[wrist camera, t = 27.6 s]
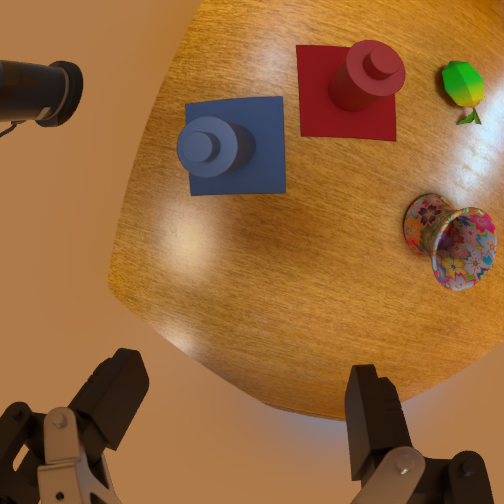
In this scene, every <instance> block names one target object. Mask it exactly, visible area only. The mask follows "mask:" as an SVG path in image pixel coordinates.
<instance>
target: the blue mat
mask: <svg viewBox="0 0 504 504" xmlns="http://www.w3.org/2000/svg"><path fill="white" fill-rule="evenodd" d="M185 109H186V125H187V124H188V123H189V122H191V121H192V120H194V119H196V118H199V117H203V116H214V117H218V118H221V119H223V120H226V121H229V122H231V123H234V124H237V125H239V126H242V127H244V128H246V129H247V130H249V131H250V132H251V134H252V135H253V137H254V139H255V144H256V148H255V153H254V155H253V157H252V158H251V160H250V161H249V162H247V163H246V164H244V165H242V166H240V167H237V168H235V169H233V170H230V171H228V172H226V173H223V174H221V175H219V176H216V177H212V178H202V177H198V176H195V175H193V174H191V173H190V172H189V179H190V191H191V196H198V195H223V194H272V193H286V190H285V147H284V119H283V97H282V96H275V97H252V98H237V99H225V100H215V101H206V102H198V103H191V104H185Z"/></svg>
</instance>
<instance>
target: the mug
mask: <svg viewBox="0 0 504 504" xmlns="http://www.w3.org/2000/svg"><path fill="white" fill-rule="evenodd" d="M404 233H405V238H406V240H407V243H408V245H409V246H410V247H411V249H412V250H414V251H415V252H416V253H418V254H421V255H425V256H429V257H430V258H431V260H432V268H433V272H434V274H435V277H436V278H437V280H438V281H439V283H440V284H441V285H443V286H444V287H445V288H447V289H450V290H457V291H458V290H464V289H467V288H469V287H471V286H473V285H475V284H476V283H477V282H479V281H480V280H481V279H482V278H483V276H484V275H485V274H486V273H487V271H488V270H489V269H490V270H492V268H493V264H492V262H493V259H494V256H495V252H496V246H497V235H496V229H495V226H494V224H493V222H492V220H491V218H490V217H489V216H488V214H486V213H485V212H484V211H482V210H480V209H478V208H474V207H469V208H463V209H460V210H454V208H453V206H452V205H451V203H450V202H449V201H448V200H447V199H446V198H444V197H443V196H440V195H437V194H429V195H425V196H422V197H421V198H419V199H418V200H416V201H415V202H414V203H413V204H412V206H411V207H410V209H409V210H408V212H407V215H406V218H405V223H404Z"/></svg>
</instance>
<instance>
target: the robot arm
mask: <svg viewBox="0 0 504 504" xmlns="http://www.w3.org/2000/svg"><path fill="white" fill-rule="evenodd" d="M68 92H69V77H68V74H67V72H66V71H65V70H64V69H63V68H60V67H51V66H46V65H39V64H32V63H25V62H15V61H6V60H0V122H7V121H11V124H13V125H12V126H11V127H10V128H9V129H7V130H5V131H3V132H1V133H0V137H2V136H3V135H5V134H7V133H9V132H11V131H12V130H13V129H14V128H15V127H16V125H17V124H21V123H23V122H25V121H26V120H49V119H52V118H53V117H55V116H56V115H57V114H58V113H59V112H60V111H61V109H62V108H63V106H64V104H65V102H66V99H67V96H68ZM148 388H149V377H148V374H147V372H146V369H145V366H144V363H143V360H142V357H141V354H140V352H139V351H137V350H131V349H126V348H120V349H118V350H117V351H116V353H115V354H114V355H113V357H112V358H108V359H106V360H105V361H104V362H102V363H101V364H99V365H98V367H97V368H96V369H95V371H94V372H93V375H91V376H90V377H89V379H88V381H87V382H85V384H84V385H83V386H82V388H81V389H80V390H79V392H78V393H77V395H76V396H75V397H74V399H73V400H72V401H71V403H70V404H69V405H68V407H58V408H54V409H52V410H51V411H50V412H49V413H48V414H42V413H35V412H32V410H31V409H30V408H29V406H28V405H27V404H26V403H24V402H15V403H13V404H11V405H10V406H9V407H8V408H7V409H6V410H5V412H4V413H3V415H2V416H1V417H0V504H38V503H39V501H40V499H41V504H122V503H121V501H120V500H119V498H118V497H117V495H116V493H115V491H114V488H113V484H112V481H111V478H110V474H109V471H108V466H107V463H106V459H105V455H104V453H103V451H104V449H105V447H106V448H109V449H112V450H115V451H116V450H117V448H118V446H119V444H120V442H121V440H122V438H123V436H124V434H125V433H126V430H127V429H128V427H129V425H130V423H131V421H132V419H133V417H134V415H135V413H136V412H137V409H138V408H139V406H140V404H141V402H142V401H143V399H144V397H145V395H146V393H147V391H148ZM401 408H402V407H401V404H400V400H399V397H398V394H397V391H396V388H395V386H394V385H393V384H392V383H391V381H390V380H389V379H388V378H387V377H382V378H378V376H377V373H376V369H375V366H374V365H373V364H366V365H353V366H352V369H351V373H350V377H349V381H348V385H347V389H346V393H345V415H346V423H347V432H348V441H349V451H350V464H351V476H352V481H358V480H361V487H362V489H361V490H360V492H359V493H358V494H357V496H356V497H355V498H354V499H353V501H352V502H351V503H350V504H494V501H493V496H492V491H491V487H490V482H489V478H488V474H487V470H486V467H485V463H484V460H483V459H482V457H481V456H480V455H479V454H478V453H476V452H473V451H462V452H460V453H458V454H457V455H455V456H454V457H453V459H432V458H427V457H424V456H423V455H422V454H421V453H420V452H419V451H418V450H416V449H414V447H413V446H412V443H411V439H410V436H409V432H408V428H407V425H406V421H405V417H404V414H403V411H402V410H401ZM23 444H25V445H26V446H27V447H28V449H29V451H28V452H27V454H26V456H25V457H24V459H23V461H22V462H21V464H20V466H19V468H18V469H17V471H14V469H13V461H14V459H15V457H16V456H17V454H18V453H19V451H20V449H21V448H22V446H23Z"/></svg>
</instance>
